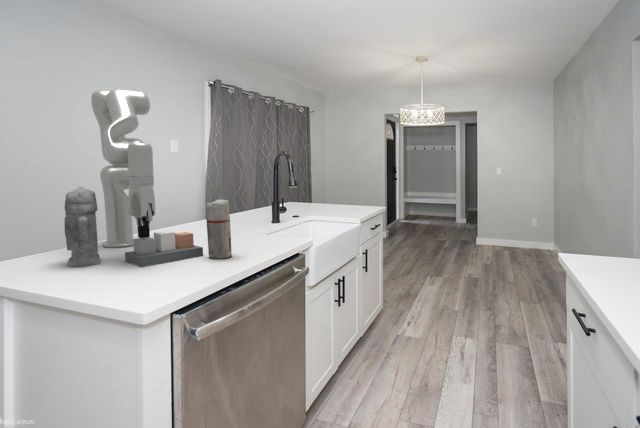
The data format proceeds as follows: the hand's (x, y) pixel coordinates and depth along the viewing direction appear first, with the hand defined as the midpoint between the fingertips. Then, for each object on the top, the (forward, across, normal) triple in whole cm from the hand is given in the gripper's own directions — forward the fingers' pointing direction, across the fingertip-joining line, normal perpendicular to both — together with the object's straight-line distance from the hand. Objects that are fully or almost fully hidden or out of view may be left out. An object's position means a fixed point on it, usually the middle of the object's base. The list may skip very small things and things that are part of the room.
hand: (143, 237), depth 139 cm
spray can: (+8, +12, +21) cm, 26 cm away
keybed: (+8, 0, +7) cm, 11 cm away
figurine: (+9, -14, -14) cm, 21 cm away
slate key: (+6, 0, 0) cm, 7 cm away
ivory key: (+5, 0, +7) cm, 9 cm away
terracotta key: (+7, 0, +14) cm, 15 cm away
